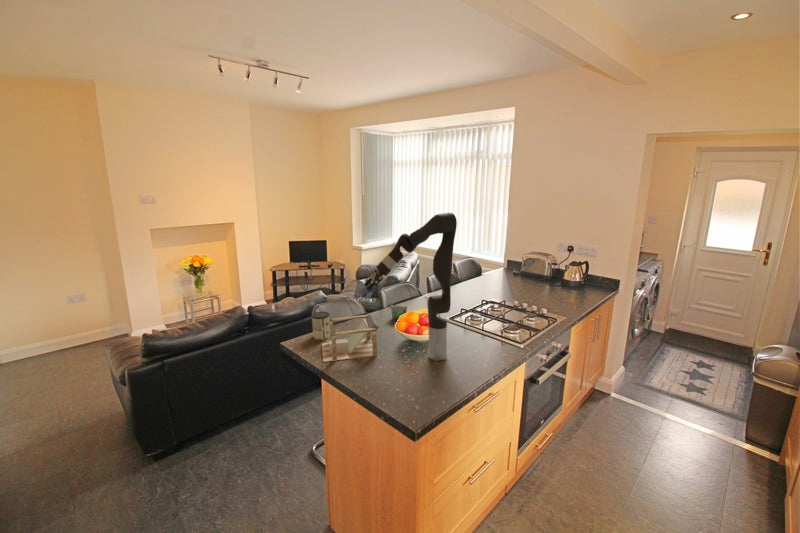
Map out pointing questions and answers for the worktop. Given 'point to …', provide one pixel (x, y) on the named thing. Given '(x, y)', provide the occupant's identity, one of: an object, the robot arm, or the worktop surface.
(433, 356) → the robot arm
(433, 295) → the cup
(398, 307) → the food container
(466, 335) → the worktop surface
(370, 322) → the trapdoor
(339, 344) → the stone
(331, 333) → the trapdoor frame
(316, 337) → the coffee can
